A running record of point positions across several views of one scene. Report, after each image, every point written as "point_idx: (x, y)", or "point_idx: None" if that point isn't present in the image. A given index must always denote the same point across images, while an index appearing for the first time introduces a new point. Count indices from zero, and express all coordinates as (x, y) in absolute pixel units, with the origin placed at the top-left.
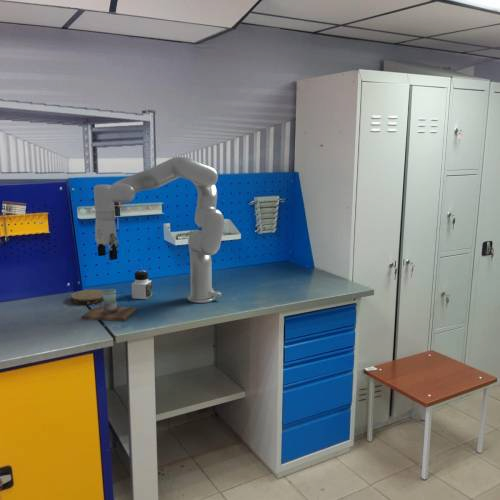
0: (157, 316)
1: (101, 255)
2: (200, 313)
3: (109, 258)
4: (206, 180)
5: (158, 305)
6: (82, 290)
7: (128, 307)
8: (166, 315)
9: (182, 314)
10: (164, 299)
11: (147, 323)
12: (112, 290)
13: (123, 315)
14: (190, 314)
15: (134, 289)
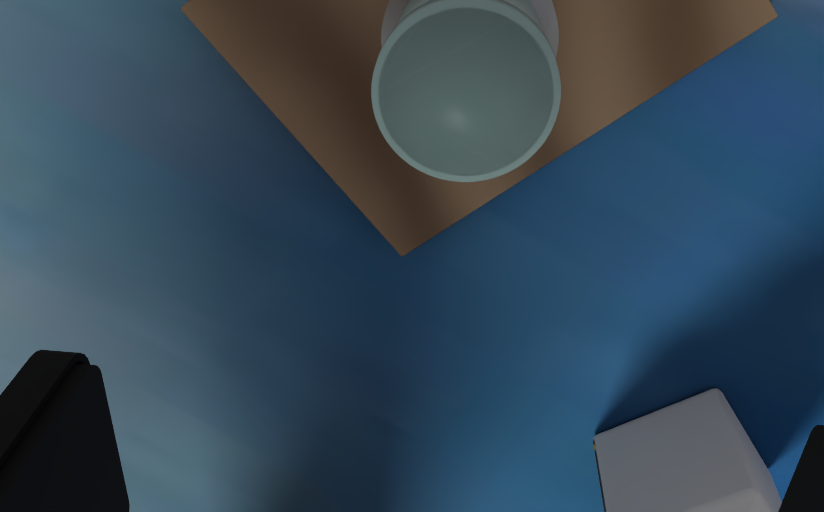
0: (142, 260)
1: (798, 479)
2: None
3: (55, 372)
4: None
5: (384, 406)
6: None
7: (451, 207)
8: (125, 314)
9: None
10: (479, 503)
11: (19, 110)
12: (442, 132)
13: (266, 44)
14: None
15: (710, 457)
